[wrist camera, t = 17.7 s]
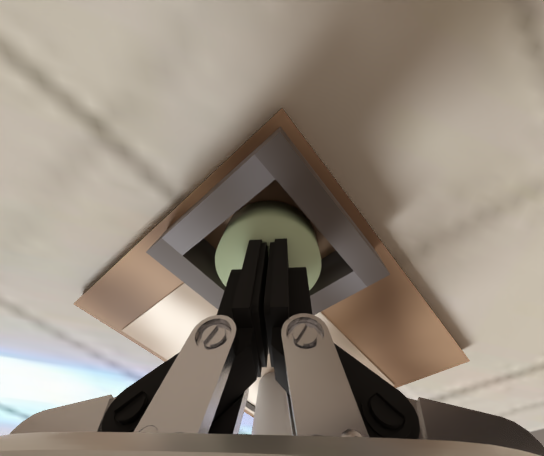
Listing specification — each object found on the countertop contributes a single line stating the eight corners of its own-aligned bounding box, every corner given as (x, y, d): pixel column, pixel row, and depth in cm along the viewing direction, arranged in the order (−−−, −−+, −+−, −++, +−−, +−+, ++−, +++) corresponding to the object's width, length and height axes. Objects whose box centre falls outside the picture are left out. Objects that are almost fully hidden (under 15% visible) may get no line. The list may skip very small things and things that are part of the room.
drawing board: (275, 421, 23) (274, 461, 21) (82, 295, 17) (43, 332, 14) (462, 350, 18) (494, 394, 15) (282, 107, 11) (281, 109, 8)
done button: (265, 291, 14) (263, 318, 12) (205, 237, 12) (192, 259, 11) (334, 249, 12) (342, 272, 11) (275, 180, 11) (274, 195, 9)
